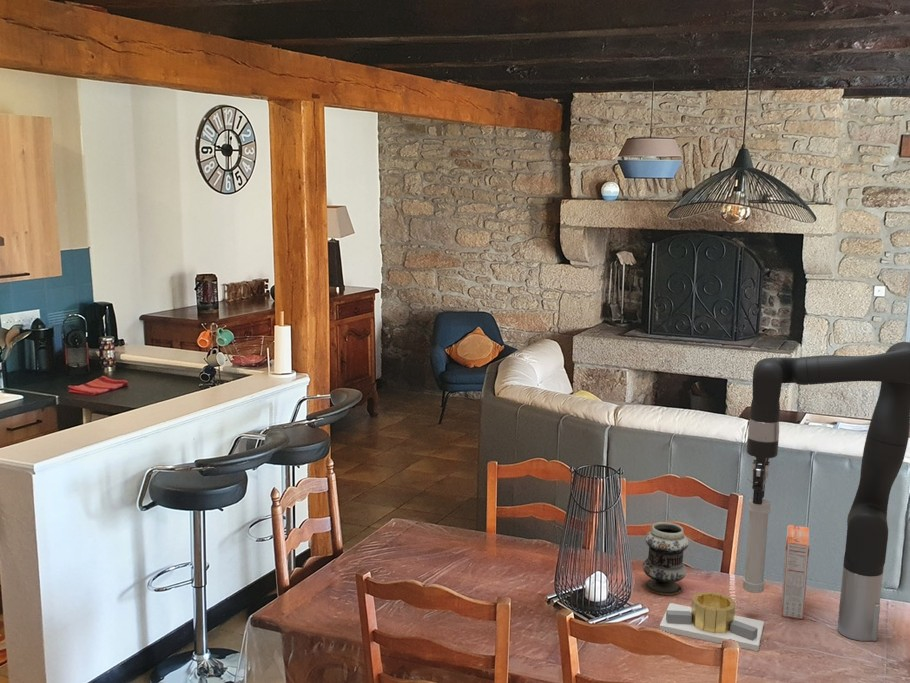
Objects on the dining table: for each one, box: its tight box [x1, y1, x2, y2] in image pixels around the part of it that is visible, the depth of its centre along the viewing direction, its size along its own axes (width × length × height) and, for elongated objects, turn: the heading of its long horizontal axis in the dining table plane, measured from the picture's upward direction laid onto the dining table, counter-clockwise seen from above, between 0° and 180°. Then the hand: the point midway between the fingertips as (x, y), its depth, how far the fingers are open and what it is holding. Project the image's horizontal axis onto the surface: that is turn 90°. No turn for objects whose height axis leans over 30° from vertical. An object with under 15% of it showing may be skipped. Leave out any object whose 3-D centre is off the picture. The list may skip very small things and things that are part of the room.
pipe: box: [742, 478, 771, 594], centre depth 239 cm, size 6×6×30 cm
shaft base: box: [659, 602, 765, 652], centre depth 235 cm, size 24×14×4 cm, turn 66°
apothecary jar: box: [642, 521, 689, 596], centre depth 257 cm, size 12×12×18 cm
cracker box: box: [781, 524, 810, 620], centre depth 246 cm, size 14×6×21 cm, turn 159°
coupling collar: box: [691, 591, 736, 633], centre depth 234 cm, size 10×10×6 cm
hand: (758, 500), depth 237 cm, fingers closed on pipe, 5 cm apart
